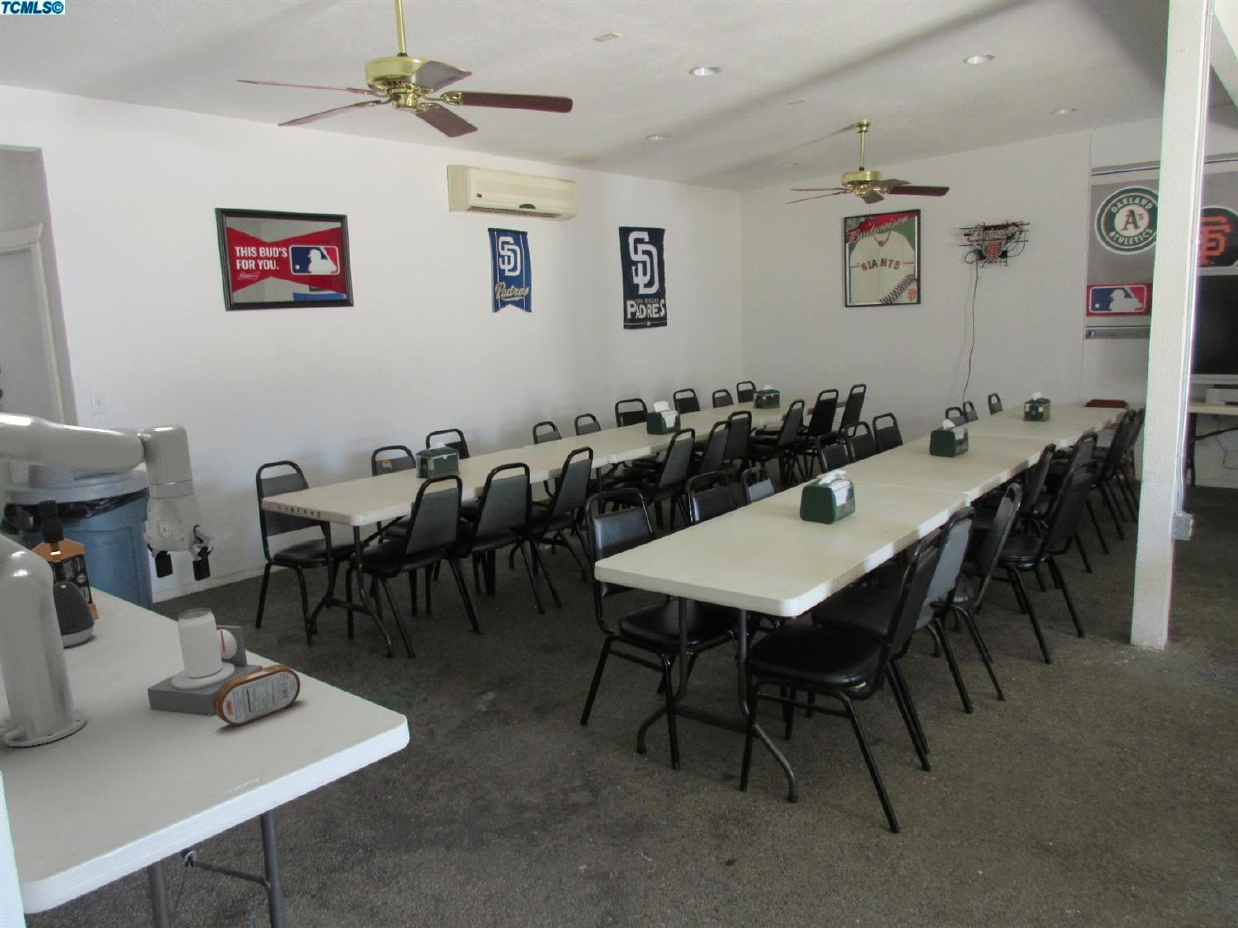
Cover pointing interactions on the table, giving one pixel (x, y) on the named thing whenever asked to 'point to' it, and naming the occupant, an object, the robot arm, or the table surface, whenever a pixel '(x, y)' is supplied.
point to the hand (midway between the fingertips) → (183, 577)
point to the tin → (256, 694)
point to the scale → (201, 691)
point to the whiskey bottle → (62, 552)
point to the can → (199, 643)
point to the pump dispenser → (72, 613)
